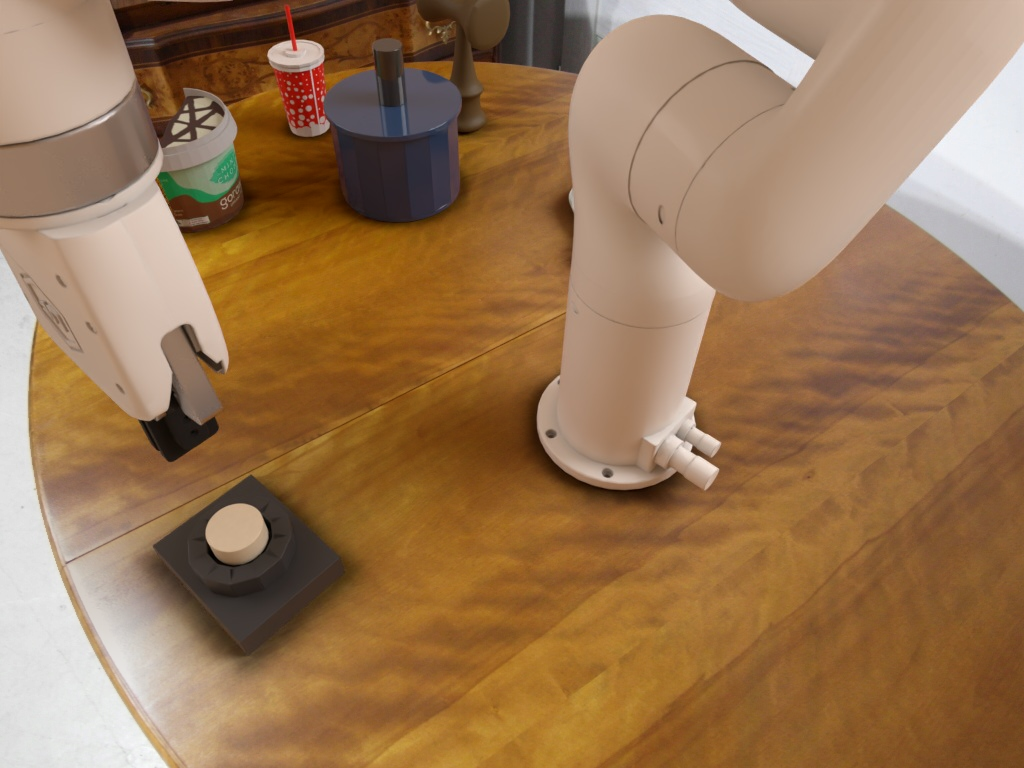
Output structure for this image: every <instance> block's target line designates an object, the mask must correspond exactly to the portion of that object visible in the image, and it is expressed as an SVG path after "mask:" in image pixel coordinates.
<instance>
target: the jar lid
mask: <svg viewBox="0 0 1024 768" xmlns="http://www.w3.org/2000/svg"><path fill="white" fill-rule="evenodd" d="M371 49H372V56H373V57H372V58H373V64H374V65H373V67H374V68H373V69H368V70H364V71H361V72H358V73H354V74H352V75H350V76H347V77H345V78H343V79H341V80H340V81H338V82H336V83H335V84H334V85H333V86H332V87H331V88H329V90H328V91H326V96H325V98H324V101H323V109H324V114H325V117H326V119H327V120H328V122H329V123H330V124H331V125H332V126H333V127H334V128H335V129H337V130H339V131H340V132H342V133H344V134H346V135H349V136H351V137H354V138H358V139H362V140H368V141H375V142H402V141H410V140H415V139H419V138H423V137H427V136H429V135H432V134H435V133H437V132H439V131H441V130H443V129H444V128H446V127H448V126H449V125H450V124H451V123H453V122H454V120H455V119H456V118H457V117H458V115H459V114H460V111H461V107H462V98H461V94H460V92H459V90H458V88H457V87H456V86H455V85H454V84H453V83H452V82H451V81H449V80H450V79H448V78H446V77H444V76H443V75H440V74H438V73H435V72H432V71H430V70H429V71H428V70H425V69H421V68H414V67H405V62H404V52H403V49H404V48H403V42H401V40H398V39H397V38H391V37H386V38H385V37H384V38H380V39H377V40H375V41H373V43H372V44H371Z"/></svg>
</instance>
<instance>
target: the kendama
mask: <svg viewBox="0 0 1024 768" xmlns="http://www.w3.org/2000/svg"><path fill="white" fill-rule="evenodd" d="M415 3H416V8H417V12H418V14H419V16H420V17H421V19H422V20H423V21H426V22H428V23H432V24H433V23H438V22H442V21H445V20H451V21H453V22H455V38H454V49H453V51H454V53H453V60H452V67H451V68H452V69H451V74H450V77H449V79H448V80H449V81H451V82H452V83H453V84H454V85H455V86H456V87H457V88H458V90H459V92H460V94H461V98H462V107H461V111H460V114H459V115H458V117H457V118H458V133H472V132H475V131H478V130H480V129H481V128H483V127H484V126H485V125H486V124H487V122H488V118H487V117H488V116H487V115H486V113H485V112H484V110H483V109H482V105H481V95H482V94H483V92H484V91H485V87H484V85H483V83H482V82H481V81H480V80H479V79H478V76H477V74H476V68H475V63H474V57H473V51H472V48H473V49H475V50H477V51H481V52H484V51H489V50H491V49H493V48H494V47H496V46H497V45H499V43H500V42H501V41H502V40H503V39H504V37H506V33H507V31H508V28H509V25H510V18H511V8H510V1H509V0H415Z"/></svg>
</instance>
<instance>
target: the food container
mask: <svg viewBox="0 0 1024 768" xmlns="http://www.w3.org/2000/svg"><path fill="white" fill-rule="evenodd" d="M182 90H183V93H184V97H185V99H184V100H183V103H182V105H181V107H180V108H179V110H178V111H177V112H176V113H175V114H174V115H173V117H171V119H169V121H168V123H167V125H166V127H165V130H164V133H163V135H162V137H161V140H159V143H160V146H161V148H162V152H163V165H162V168H161V170H160V173H159V175H158V176H157V177H156V178H157V180H158V182H159V184H160V186H161V189H162V191H163V193H164V195H165V197H166V199H167V200H166V201H167V202H168V205H169V207H170V208H171V209H170V210H172V211H171V212H172V214H173V216H174V219H175V221H176V223H177V224H178V226H179V229H180V232H181V233H195V232H202V231H207V230H211V229H214V228H217V227H218V226H222V225H224V224H225V223H227V222H229V221H230V220H232V219H234V218H235V217H236V216H237V215H238V214H239V213H240V212H241V210H242V209H243V207H244V204H245V196H244V191H243V186H242V181H241V176H240V175H241V174H240V170H239V166H238V160H237V155H236V154H237V153H236V149H235V144H234V141H235V140H236V137H237V134H238V126H237V122H236V121H235V119H234V117H233V115H232V113H231V111H230V109H229V108H228V107H227V106H226V104H225V103H224V102H223V100H221V98H220V97H218V96H216V94H213V93H211V92H209V91H205V90H202V89H198V88H190V87H183V88H182Z"/></svg>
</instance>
